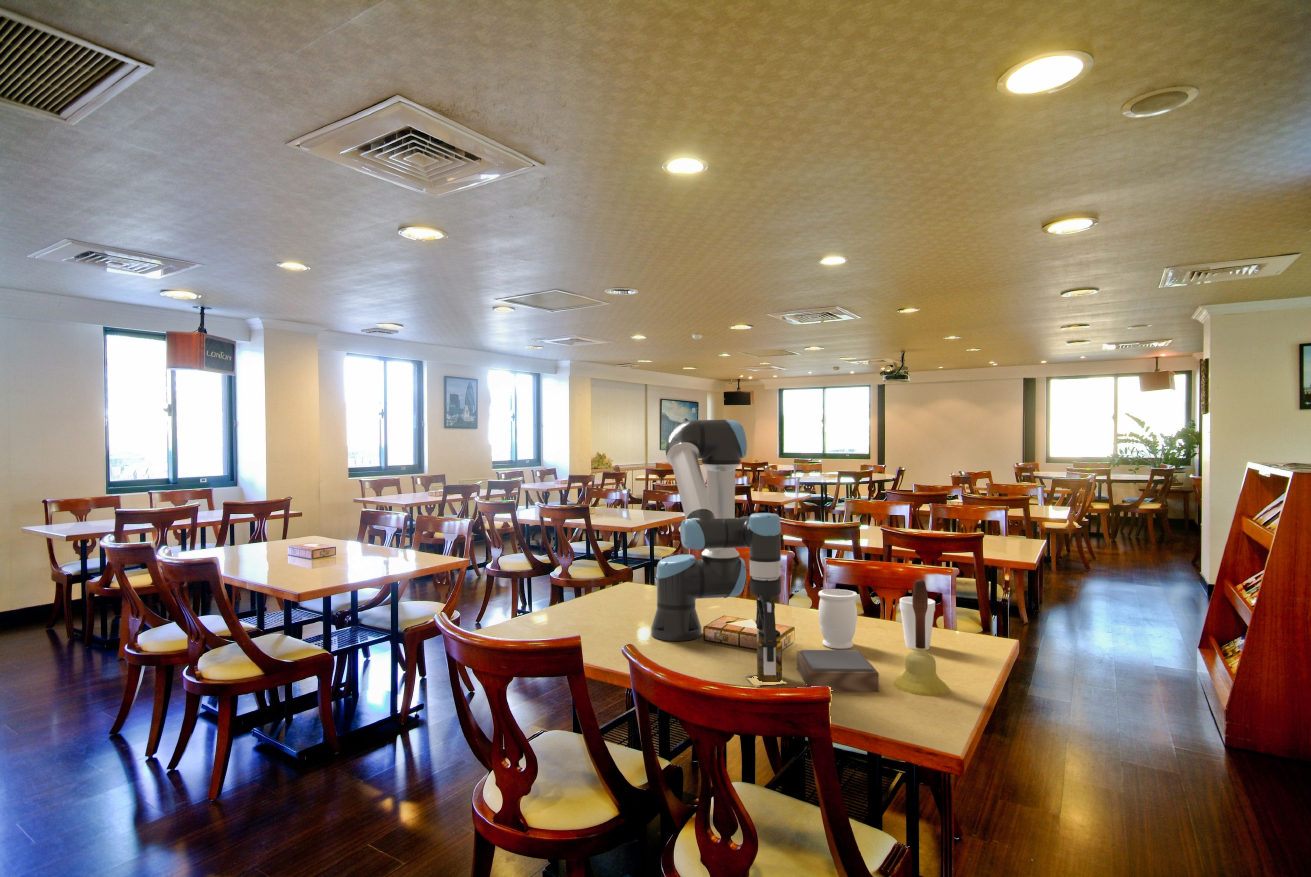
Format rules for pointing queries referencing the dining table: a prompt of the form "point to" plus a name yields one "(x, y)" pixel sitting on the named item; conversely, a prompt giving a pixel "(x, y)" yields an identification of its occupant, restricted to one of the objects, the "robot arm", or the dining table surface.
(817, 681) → the stand
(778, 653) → the condiment
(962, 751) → the dining table surface
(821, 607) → the jar
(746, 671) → the dining table surface
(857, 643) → the dining table surface
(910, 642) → the foam cup
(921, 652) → the handbell
